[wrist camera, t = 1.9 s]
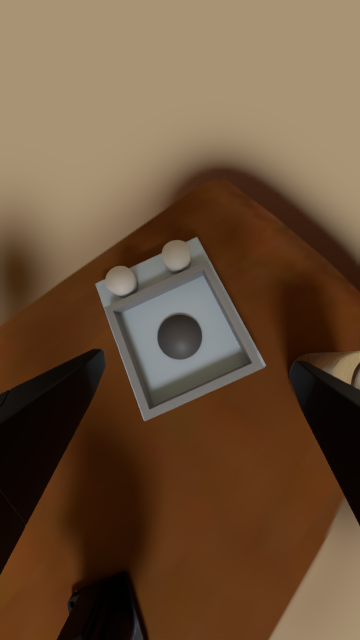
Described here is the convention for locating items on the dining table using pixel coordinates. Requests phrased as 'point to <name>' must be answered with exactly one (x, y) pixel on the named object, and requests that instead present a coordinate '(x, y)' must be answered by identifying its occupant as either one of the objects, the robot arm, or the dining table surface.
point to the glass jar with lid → (335, 365)
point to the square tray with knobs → (176, 328)
